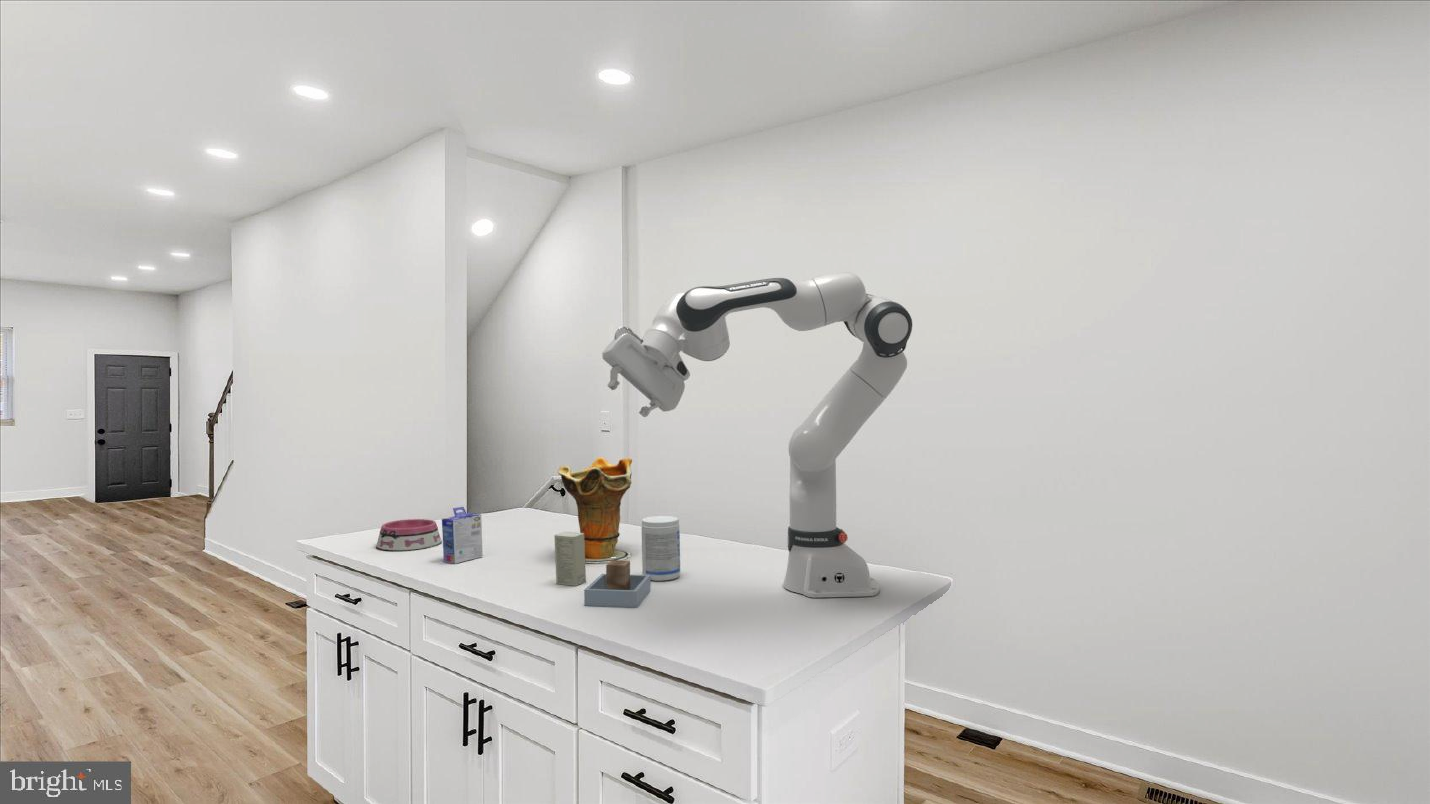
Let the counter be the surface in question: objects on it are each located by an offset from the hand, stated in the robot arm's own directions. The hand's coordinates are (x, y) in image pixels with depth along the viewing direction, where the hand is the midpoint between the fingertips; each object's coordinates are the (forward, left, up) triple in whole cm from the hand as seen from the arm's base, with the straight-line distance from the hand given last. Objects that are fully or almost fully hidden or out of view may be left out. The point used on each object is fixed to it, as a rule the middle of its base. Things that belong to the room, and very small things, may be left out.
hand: (627, 401), depth 157 cm
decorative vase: (+21, -48, -45) cm, 69 cm away
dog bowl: (+83, -56, -46) cm, 110 cm away
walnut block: (+5, -10, -45) cm, 46 cm away
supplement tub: (-1, -28, -45) cm, 53 cm away
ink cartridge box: (+58, -40, -45) cm, 84 cm away
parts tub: (+5, -10, -45) cm, 46 cm away
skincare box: (+20, -20, -45) cm, 53 cm away
